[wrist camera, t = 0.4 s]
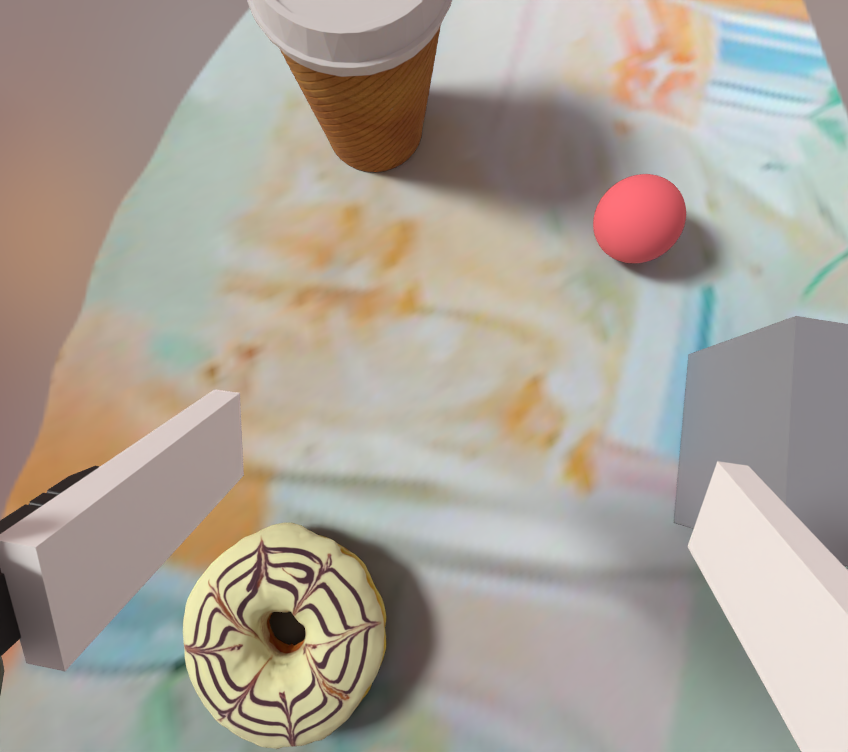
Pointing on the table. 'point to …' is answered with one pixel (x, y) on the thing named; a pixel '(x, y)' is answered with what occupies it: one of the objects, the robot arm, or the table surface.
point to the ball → (639, 218)
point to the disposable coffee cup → (360, 69)
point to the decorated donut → (271, 658)
